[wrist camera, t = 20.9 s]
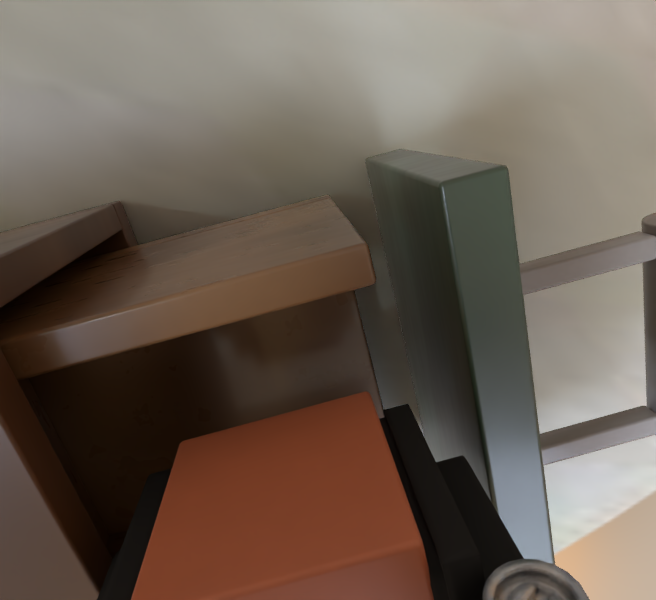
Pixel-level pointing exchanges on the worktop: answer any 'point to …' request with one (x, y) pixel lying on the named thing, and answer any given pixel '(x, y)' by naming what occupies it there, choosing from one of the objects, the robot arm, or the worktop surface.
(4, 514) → the cabinet
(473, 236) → the drawer
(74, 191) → the worktop surface
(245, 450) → the block
